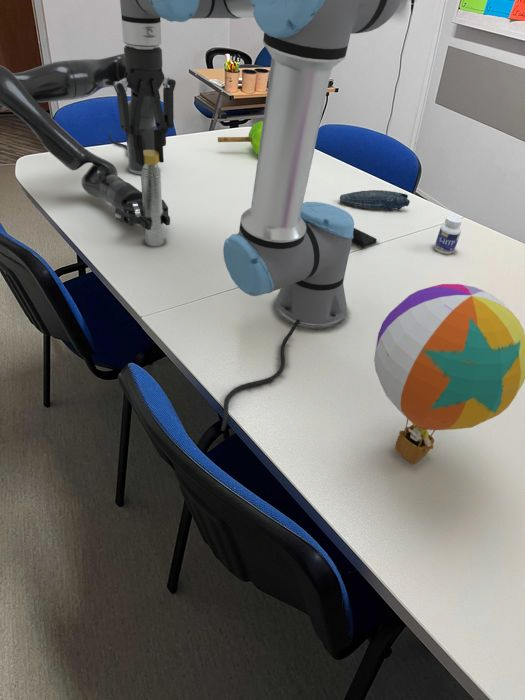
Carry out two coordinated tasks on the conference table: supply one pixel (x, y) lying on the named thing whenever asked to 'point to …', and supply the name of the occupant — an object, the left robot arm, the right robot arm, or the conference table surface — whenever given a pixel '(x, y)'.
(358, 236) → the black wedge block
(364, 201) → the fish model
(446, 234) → the pill bottle
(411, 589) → the conference table surface
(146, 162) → the cap
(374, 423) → the conference table surface
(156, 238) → the bottle
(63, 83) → the left robot arm
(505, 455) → the conference table surface
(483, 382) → the toy
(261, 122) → the decorative tree
